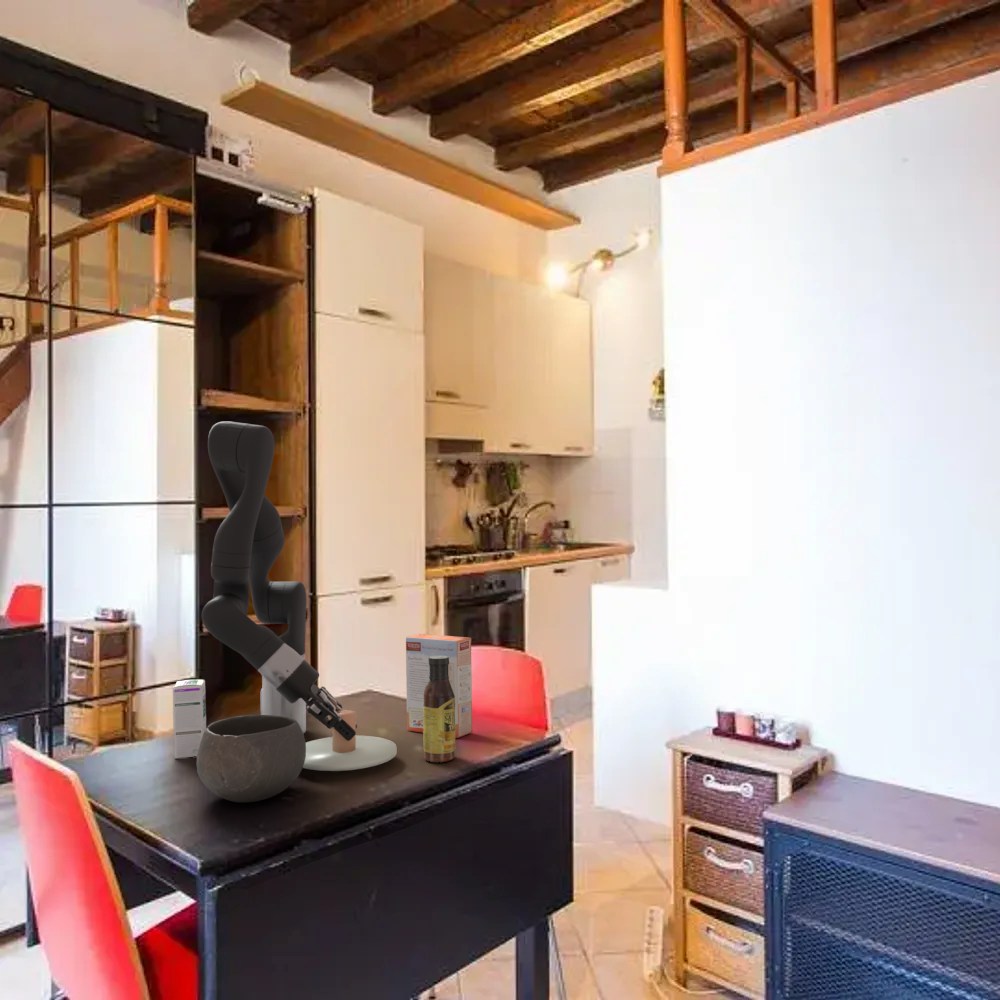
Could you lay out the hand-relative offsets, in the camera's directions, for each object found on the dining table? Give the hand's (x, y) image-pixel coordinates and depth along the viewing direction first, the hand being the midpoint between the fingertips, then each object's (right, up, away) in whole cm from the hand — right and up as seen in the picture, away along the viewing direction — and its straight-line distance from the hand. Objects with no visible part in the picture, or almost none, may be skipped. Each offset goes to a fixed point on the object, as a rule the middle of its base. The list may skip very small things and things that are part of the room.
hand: (353, 733), depth 161 cm
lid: (-2, -4, 0) cm, 4 cm away
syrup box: (-34, -7, +8) cm, 36 cm away
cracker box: (+15, -6, +22) cm, 28 cm away
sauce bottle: (+16, -6, +3) cm, 18 cm away
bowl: (-14, -6, -17) cm, 23 cm away
